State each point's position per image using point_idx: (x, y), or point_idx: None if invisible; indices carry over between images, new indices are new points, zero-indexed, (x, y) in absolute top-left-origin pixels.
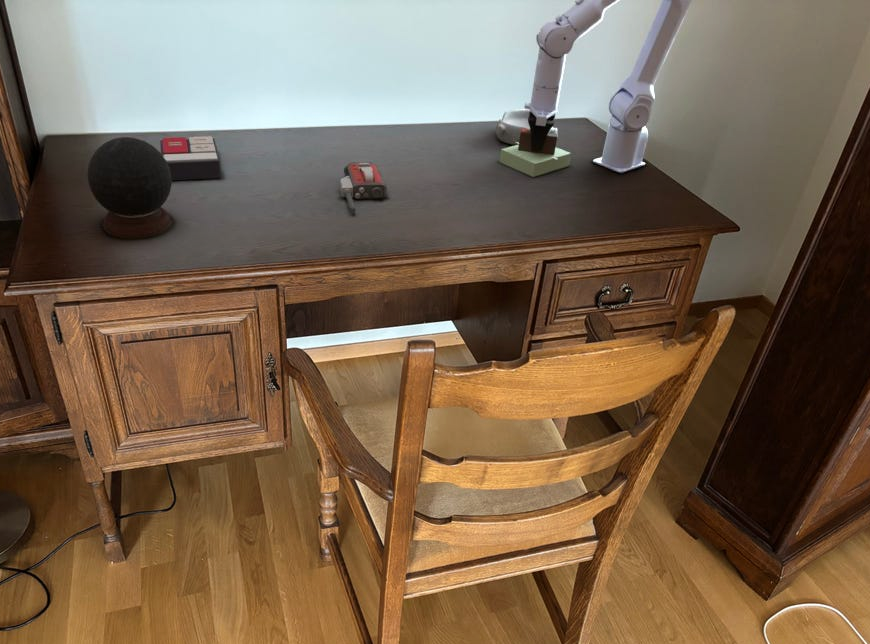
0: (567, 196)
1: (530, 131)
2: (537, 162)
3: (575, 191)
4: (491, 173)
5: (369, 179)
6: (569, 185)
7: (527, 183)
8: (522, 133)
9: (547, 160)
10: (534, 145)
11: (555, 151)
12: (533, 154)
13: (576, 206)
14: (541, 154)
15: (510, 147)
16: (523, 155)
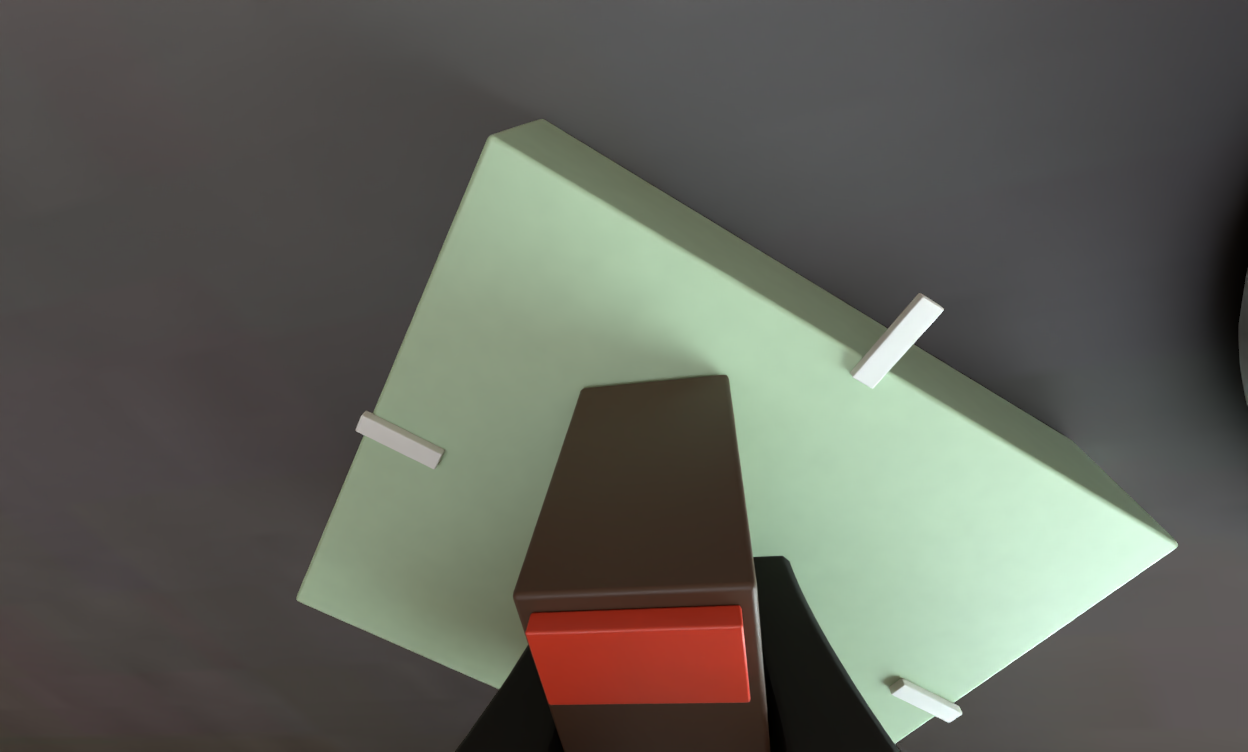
0: (223, 703)
1: (686, 738)
2: (346, 614)
3: (333, 733)
4: (151, 118)
5: None
6: (401, 707)
7: (213, 481)
8: (526, 613)
9: (478, 676)
10: None
11: None
12: None
13: (133, 738)
14: None
15: (648, 264)
16: (442, 474)
